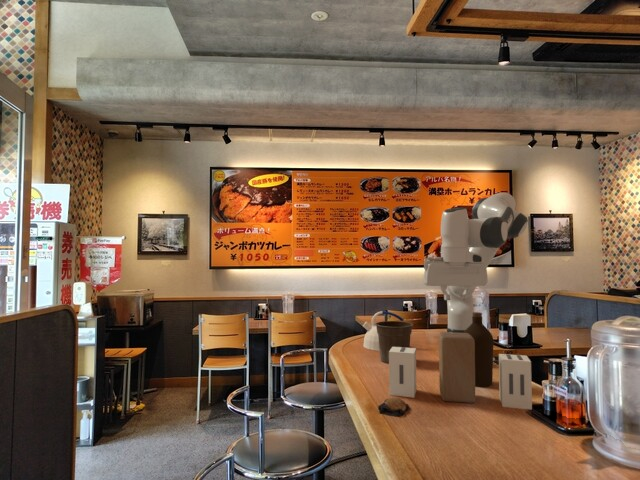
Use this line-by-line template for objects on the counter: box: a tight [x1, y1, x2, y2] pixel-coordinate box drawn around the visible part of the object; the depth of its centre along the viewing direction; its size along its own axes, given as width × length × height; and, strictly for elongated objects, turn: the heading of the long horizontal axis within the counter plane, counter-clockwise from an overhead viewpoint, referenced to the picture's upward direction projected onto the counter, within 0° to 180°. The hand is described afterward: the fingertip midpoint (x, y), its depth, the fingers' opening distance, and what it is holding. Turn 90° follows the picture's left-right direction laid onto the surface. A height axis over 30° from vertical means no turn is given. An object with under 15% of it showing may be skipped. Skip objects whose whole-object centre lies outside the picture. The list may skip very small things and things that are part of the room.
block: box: [438, 331, 476, 404], centre depth 132 cm, size 10×10×20 cm
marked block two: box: [498, 353, 533, 411], centre depth 126 cm, size 8×8×14 cm
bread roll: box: [377, 397, 410, 418], centre depth 121 cm, size 11×8×4 cm
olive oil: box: [464, 311, 495, 388], centre depth 148 cm, size 11×11×25 cm
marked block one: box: [388, 347, 417, 398], centre depth 137 cm, size 8×8×14 cm
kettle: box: [362, 310, 404, 352], centre depth 208 cm, size 20×21×18 cm
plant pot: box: [375, 320, 414, 364], centre depth 179 cm, size 16×16×16 cm
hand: (455, 299), depth 133 cm, fingers open, 4 cm apart
